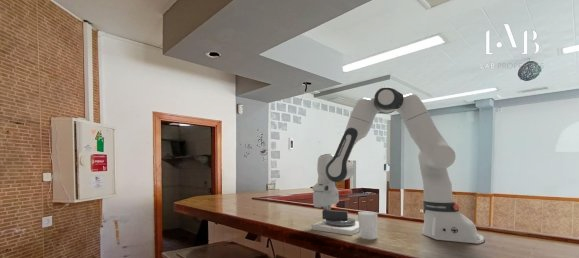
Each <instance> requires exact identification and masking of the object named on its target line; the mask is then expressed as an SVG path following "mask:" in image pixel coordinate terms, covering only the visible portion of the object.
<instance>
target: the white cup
mask: <svg viewBox="0 0 579 258" xmlns="http://www.w3.org/2000/svg"><path fill="white" fill-rule="evenodd" d="M357 216H358V219H357V220H358V221H359V230H360V231H359V237H360V239H364V240H376V239H377V238H378V213H377V212H374V211H365V210H363V211H362V210H361V211H358V212H357Z"/></svg>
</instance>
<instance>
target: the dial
mask: <svg viewBox="0 0 579 258" xmlns="http://www.w3.org/2000/svg"><path fill="white" fill-rule="evenodd" d="M321 215H322V220H326V224H328V225H332V226H352V225H355V221H356V220H355V219H354V218H351V217H349V211H348V210H332V209H330V210H324V209H323V210H322V214H321Z"/></svg>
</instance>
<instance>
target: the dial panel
mask: <svg viewBox="0 0 579 258" xmlns="http://www.w3.org/2000/svg"><path fill="white" fill-rule="evenodd" d="M311 230H313V231H314V230H315V231H320V232H327V233H328V232H329V233H333V234H338V235H347V236H353V235H356V234H357V233H360V230H359V220H355V225H352V226H332V225H328V224H326V219H323V220H322V221H319V222H316V223H313V224H311Z"/></svg>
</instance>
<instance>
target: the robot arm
mask: <svg viewBox="0 0 579 258" xmlns="http://www.w3.org/2000/svg"><path fill="white" fill-rule="evenodd" d="M394 112H397V113H398V114H399V116H400V117H401V119H402V121H403V123H404V125H405V128H406V129H407V132H408V133H409V136H410V138H411V139H412V140H413V141H414V142H415V144H416V146H417V147H418V149H419V150H420V151H418V154H417V155H418V162H419V169H420V173H421V178H422V184H423V185H422V188H423V202H422V207H423V209H422V210H423V214H424V215H423V216H424V219H423V229H422V232H421V234H422V235H424V236H426V237H429V238H432V239H434V240H437V241H438V240H439V241H446V242H447V241H448V242H459V243H467V244H468V243H469V244H482V243H484V242H485V238H484V235H483V234H479V233H478V232H477V231H478V230H477V226H476V225H475V223H474V221H472V220H471V219H469V217H467V216H466V215H464V214H463V213H461V212H460V206H459V203H456V202H454V200H453V197H454V196H453V190H452V189H453V188H452V182H451V179H450V176H449V173H448V169H449V167H451V166H452V165H454V162H455V160H456V152H455V150H454V148H452V147H451V146H450V144H449V143H448V142H447V141H446V139H445V138H444V137H443V135H442V134H441V133H440V131H439V130H438V128H437V127H436V125H435V122H434V121H433V119H432V117H431V115H430V113H429V111H428V109H427V107H426V106H425V104H424V102H423V101H422V99H421V98H420V97H419V96H418V95H417V94H415V93H407V94H403V93H401V92H400V91H398V90H397V89H395V88H393V87H390V86H383V87H381V88H379V89H377V91H376V92H375V94H374V97H373V98H368V97H362V98H359V99H357V102H356V103H355V105H354V107H353V109H352V111H351V113H350V116H349V119H348V122H347V125H346V128H345V131H344V133H343V135H342V137H341V139H340V142H339V144H338V146H337V149H336V151H335V154H333V153H326V154H325V153H324V154H322V155H321V154H320V156H319V157H318V158H317V165H316V166H317V167H316V170H317V183H316V184H314V185H313V186H312V191H313V193H312V202H313V203H312V204H313V206H314V208H319V209H320V208H323V210H332V205H336V204H338V203H339V201H340V196H339V195H340V194H339V190H338V188H337V186H336V183H340V182H342V181H345V180H349V179H351V178H352V177H353V175H354V174H355V168H354V164H352V162H350V161H349V158H350V156H351V153H352V152H353V148H354V147H355V146H356V144H357V143H358V142H359V141H361V140H362V139H364V138H365V137H367V136H368V133H369V132H370V130H371V128H372V126H373V123H374V120H375V117H376V115H378V114H381V115H382V114H383V115H386V114H387V115H388V114H392V113H394ZM447 168H448V169H447Z"/></svg>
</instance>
